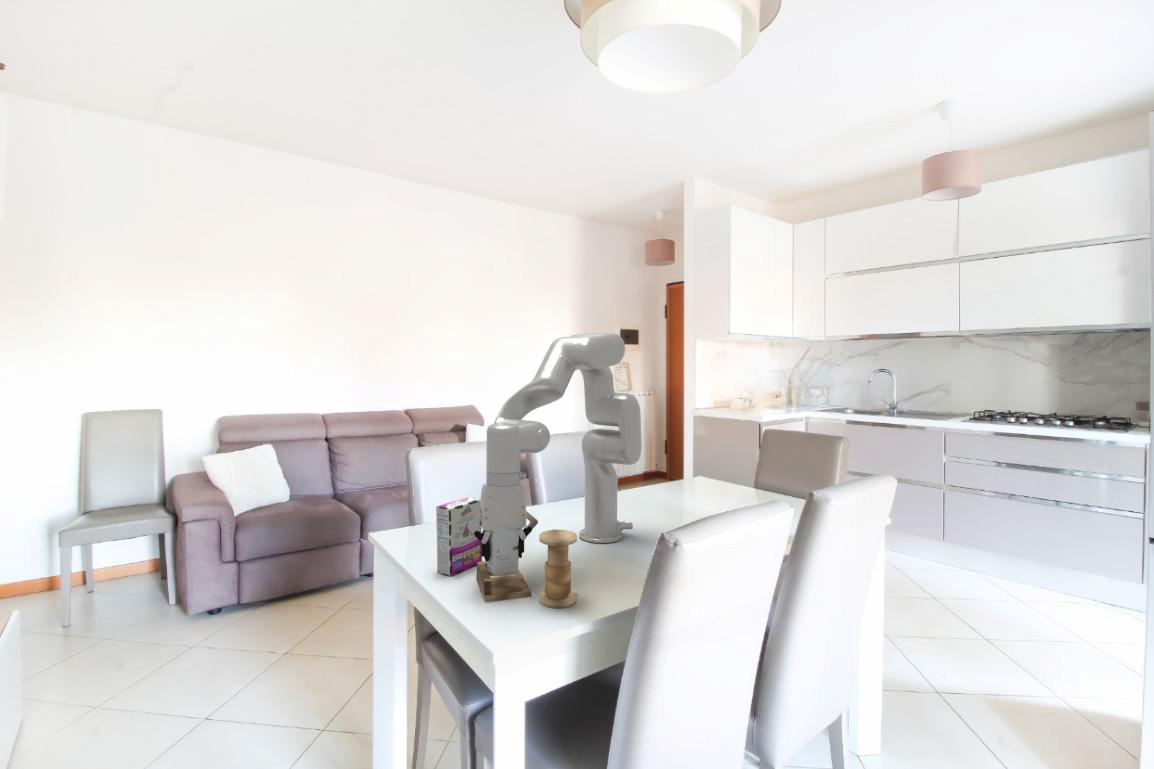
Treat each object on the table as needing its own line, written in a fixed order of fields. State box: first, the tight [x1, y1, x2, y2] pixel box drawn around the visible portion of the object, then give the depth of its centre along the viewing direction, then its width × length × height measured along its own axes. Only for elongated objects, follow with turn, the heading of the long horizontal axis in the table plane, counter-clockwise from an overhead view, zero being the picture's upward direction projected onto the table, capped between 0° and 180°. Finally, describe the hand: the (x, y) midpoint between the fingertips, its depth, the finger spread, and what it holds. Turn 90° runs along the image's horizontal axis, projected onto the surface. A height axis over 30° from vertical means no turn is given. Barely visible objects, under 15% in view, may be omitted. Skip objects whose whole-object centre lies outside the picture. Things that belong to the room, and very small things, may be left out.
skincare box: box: [487, 522, 519, 576], centre depth 124 cm, size 6×4×12 cm
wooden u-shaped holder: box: [476, 561, 532, 603], centre depth 124 cm, size 10×13×4 cm
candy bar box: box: [435, 496, 483, 577], centre depth 136 cm, size 11×5×16 cm, turn 148°
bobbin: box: [538, 529, 578, 609], centre depth 118 cm, size 8×8×14 cm
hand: (502, 557), depth 124 cm, fingers closed on skincare box, 6 cm apart
